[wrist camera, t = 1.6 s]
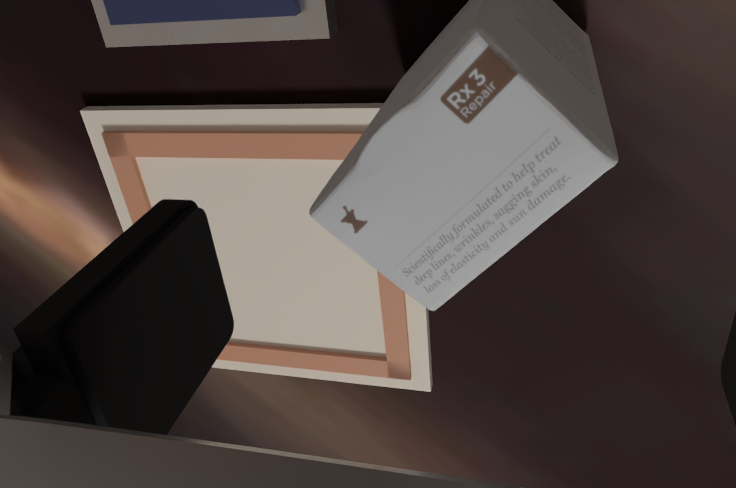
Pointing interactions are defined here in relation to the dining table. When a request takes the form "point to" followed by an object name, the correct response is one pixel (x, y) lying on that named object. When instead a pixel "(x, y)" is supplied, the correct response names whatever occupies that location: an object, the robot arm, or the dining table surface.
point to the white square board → (270, 233)
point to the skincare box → (472, 148)
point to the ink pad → (213, 21)
